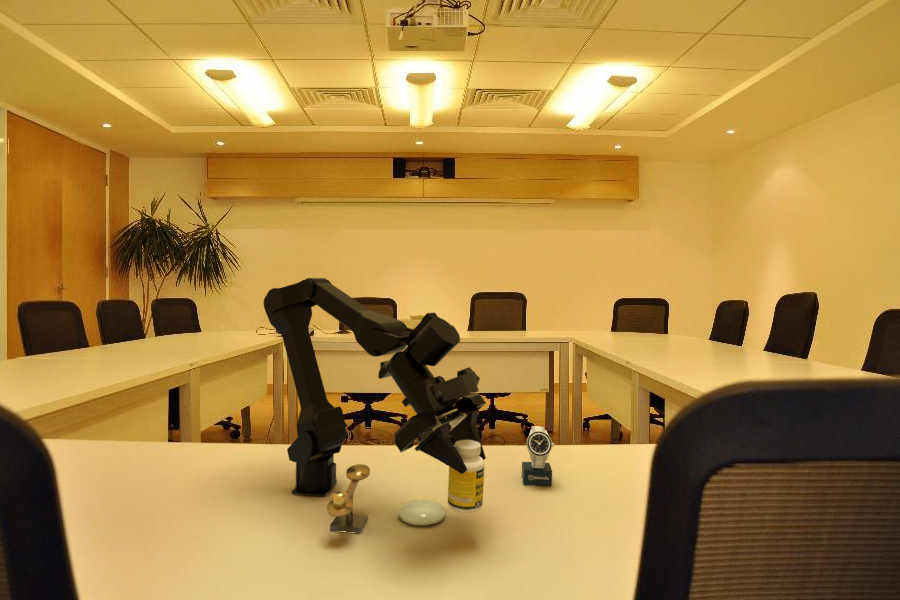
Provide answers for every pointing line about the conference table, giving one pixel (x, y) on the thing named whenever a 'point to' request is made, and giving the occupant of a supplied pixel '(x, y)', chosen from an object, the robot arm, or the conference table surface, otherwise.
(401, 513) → the dish
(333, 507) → the balance
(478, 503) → the supplement bottle
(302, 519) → the conference table surface
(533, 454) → the watch
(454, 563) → the conference table surface
